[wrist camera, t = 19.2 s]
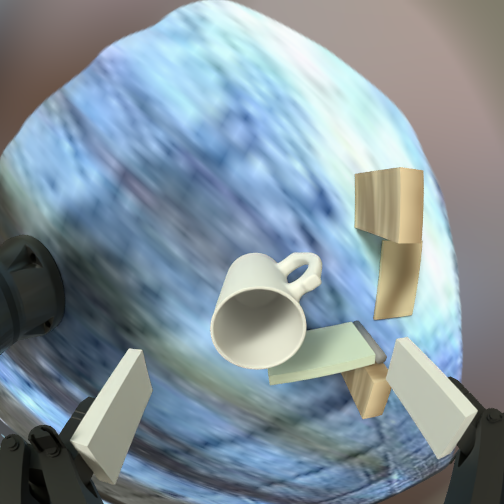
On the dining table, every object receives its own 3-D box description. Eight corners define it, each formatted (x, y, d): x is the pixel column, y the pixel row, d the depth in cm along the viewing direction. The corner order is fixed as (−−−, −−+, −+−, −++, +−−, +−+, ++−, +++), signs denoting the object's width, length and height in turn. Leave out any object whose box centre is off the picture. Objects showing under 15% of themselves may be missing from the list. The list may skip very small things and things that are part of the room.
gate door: (360, 319, 31) (387, 352, 23) (360, 328, 31) (386, 362, 24) (264, 337, 31) (268, 378, 24) (265, 345, 32) (270, 387, 24)
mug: (249, 318, 31) (250, 383, 19) (211, 275, 30) (190, 324, 18) (320, 266, 30) (360, 308, 18) (284, 218, 29) (308, 234, 17)
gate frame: (339, 369, 33) (362, 419, 23) (354, 174, 28) (400, 167, 18) (399, 359, 33) (432, 400, 23) (422, 180, 28) (477, 180, 18)
